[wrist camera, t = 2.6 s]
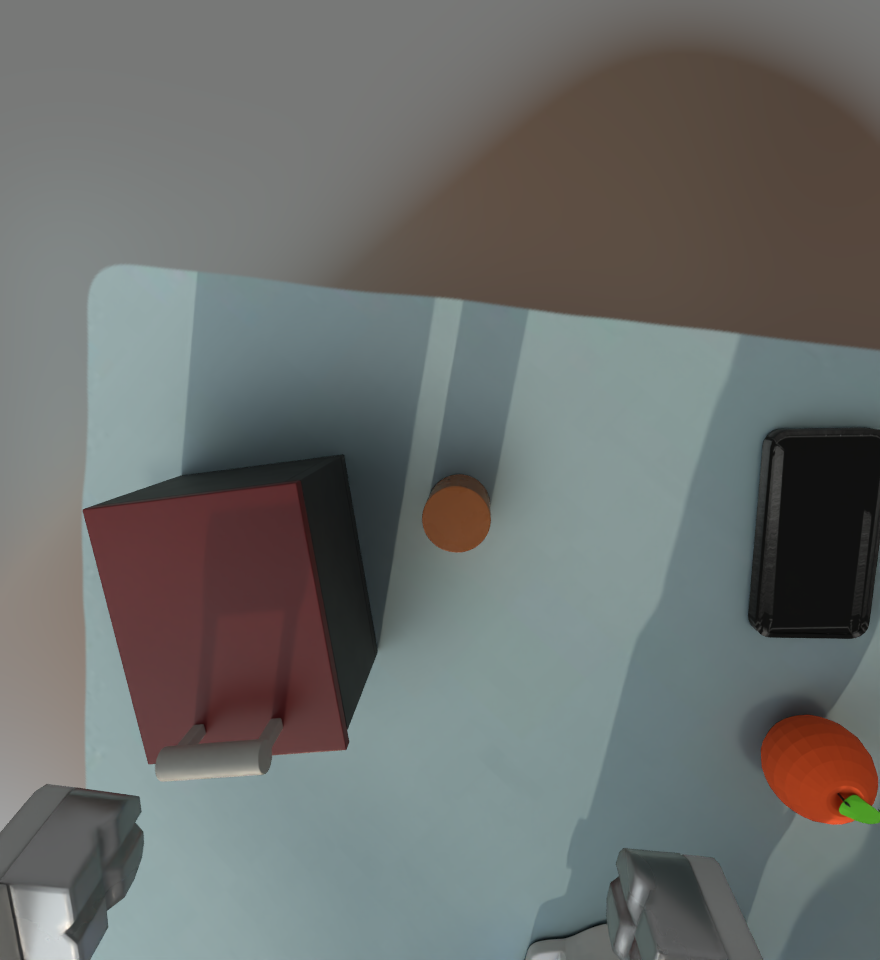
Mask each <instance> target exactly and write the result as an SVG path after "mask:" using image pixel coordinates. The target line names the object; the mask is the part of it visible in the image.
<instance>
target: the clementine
mask: <svg viewBox="0 0 880 960" xmlns="http://www.w3.org/2000/svg"><path fill="white" fill-rule="evenodd" d="M761 762H762V769H763V772H764V775H765V777H766V779H767V782H768V784H769V786H770V787H771V789H772V790H773V791H774V793H775V794H776V795H777V797H778V798H779V799H780V800H781V801H782V802H783V803H784V804H785V805H786V806H788V807H789V808H790V809H792V810H793V811H794V812H796V813H798V814H799V815H801V816H803V817H805V818H807V819H810V820H812V821H815V822H821V823H827V824H845V823H848V822H852V821H854V820H856V821H859V822H862V823H867V824H875V823H879V822H880V813H879V812H880V810H879V812H878V811H877V810H876V809H875V808H873V807H872V805H873V803H874V801H875V798H876V795H877V790H878V776H877V772H876V769H875V766H874V763H873V760H872V757H871V755H870V754H869V753H868V751H867V750H866V749H865V747H864V746H863V744H862V743H861V742H860V740H859V739H858V738H857V737H856V736H854V735H853V734H852V733H851V732H849V731H848V730H847V729H845V728H844V727H842V726H841V725H840V724H838V723H835V722H833V721H831V720H828V719H825V718H822V717H819V716H813V715H797V716H792V717H789V718H785V719H783V720H781V721H779V722H778V723H776V724H775V725H774V726H773V727H772V728H771V729H770V730H769V732H768V733H767V735H766V737H765V738H764V740H763V744H762V747H761Z"/></svg>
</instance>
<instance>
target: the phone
mask: <svg viewBox="0 0 880 960" xmlns="http://www.w3.org/2000/svg"><path fill="white" fill-rule="evenodd" d="M879 544H880V430H877V429H871V428H804V429H777V430H775V431H772V432H771V433H770V434H768V435H767V437H766V438H765V440H764V443H763V448H762V460H761V472H760V484H759V495H758V507H757V519H756V530H755V542H754V554H753V566H752V577H751V589H750V601H749V612H748V619H749V622H750V624H751V625H752V626H753V627H754V628H755V629H756V630H757V631H758V632H759V633H760V634H761V635H763V636H765V637H775V638H838V639H852V638H857V637H859V636H861V635H862V634H864V633H865V632H866V630H867V629H868V626H869V622H870V614H871V606H872V598H873V590H874V583H875V575H876V567H877V559H878V551H879Z"/></svg>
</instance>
